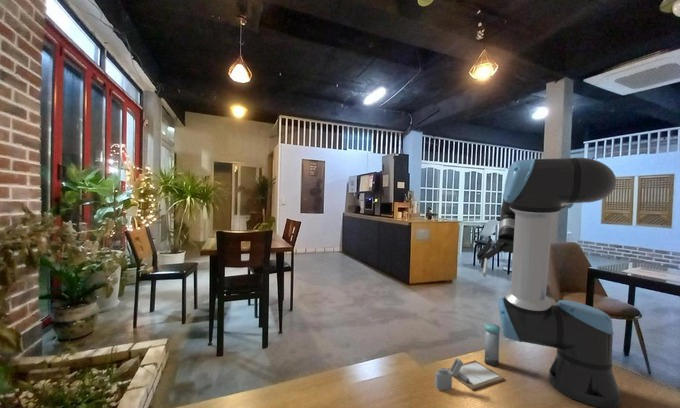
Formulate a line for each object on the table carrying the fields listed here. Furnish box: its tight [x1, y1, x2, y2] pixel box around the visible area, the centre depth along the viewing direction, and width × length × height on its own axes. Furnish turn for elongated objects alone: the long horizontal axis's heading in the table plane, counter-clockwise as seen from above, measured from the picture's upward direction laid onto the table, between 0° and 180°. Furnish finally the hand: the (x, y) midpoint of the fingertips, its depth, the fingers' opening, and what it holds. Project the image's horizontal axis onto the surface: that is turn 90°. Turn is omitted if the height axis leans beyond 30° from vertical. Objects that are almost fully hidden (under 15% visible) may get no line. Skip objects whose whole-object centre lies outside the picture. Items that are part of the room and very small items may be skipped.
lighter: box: [434, 357, 464, 391], centre depth 78 cm, size 7×2×8 cm, turn 92°
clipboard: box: [447, 359, 505, 392], centre depth 84 cm, size 10×13×2 cm
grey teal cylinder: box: [484, 323, 501, 368], centre depth 91 cm, size 4×4×12 cm
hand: (505, 278), depth 99 cm, fingers open, 13 cm apart
